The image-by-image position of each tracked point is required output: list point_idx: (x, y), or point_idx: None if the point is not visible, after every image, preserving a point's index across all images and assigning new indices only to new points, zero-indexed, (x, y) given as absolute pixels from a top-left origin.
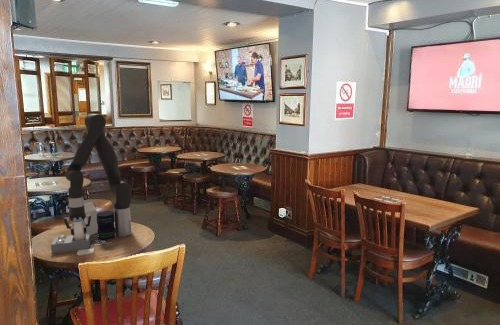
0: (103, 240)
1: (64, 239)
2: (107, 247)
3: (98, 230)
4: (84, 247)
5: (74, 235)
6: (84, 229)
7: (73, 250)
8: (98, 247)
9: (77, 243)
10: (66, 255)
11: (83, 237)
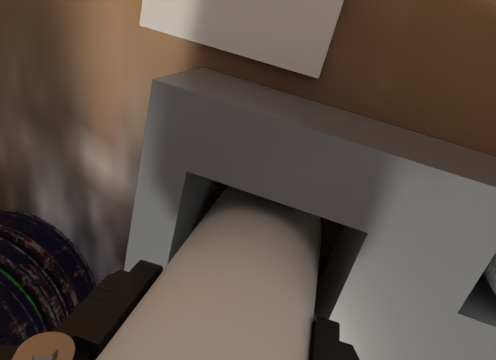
0: (53, 227)
1: (448, 348)
2: (14, 3)
3: (16, 342)
4: (235, 83)
5: (309, 305)
6: (102, 315)
7: (367, 118)
8: (101, 64)
9: (307, 120)
10: (491, 7)
11: (194, 231)
